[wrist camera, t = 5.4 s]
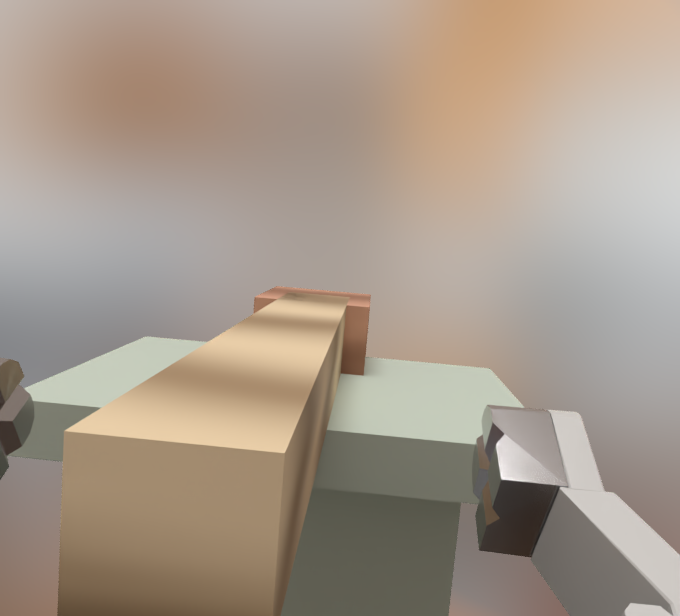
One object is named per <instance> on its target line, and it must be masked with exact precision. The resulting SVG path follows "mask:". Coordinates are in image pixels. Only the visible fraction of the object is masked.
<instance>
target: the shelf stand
mask: <svg viewBox="0 0 680 616" xmlns="http://www.w3.org/2000/svg"><path fill="white" fill-rule="evenodd" d="M206 343H207V342H200V341H189V340H179V339H168V338H156V337H144V338H142V339H140V340H137V341H134V342H132V343H130V344H127V345H125V346H123V347H120V348H118V349H116V350H113V351H111V352H109V353H106V354H104V355H102V356H99V357H97V358H95V359H92V360H90V361H88V362H85V363H83V364H81V365H78V366H76V367H74V368H71V369H69V370H66V371H64V372H62V373H59V374H57V375H55V376H52V377H50V378H48V379H46V380H43V381H41V382H38V383H36V384H34V385H31V386H29V387H26V388H24V389H25V390H26V391H27V392H28V393H29V394H30V395H31V397H32V400H33V403H34V416H35V418H34V421H33V425H32V428H31V432H30V434H29V436H28V438H27V439H26V441H25V443H24V444H23V446H22V447H20V448H19V449H17V450H15V451H14V452H12V453H11V454H9V455H7V456H12V457H22V458H32V459H42V460H51V461H61V462H63V444H64V431H65V430H66V429H68V428H70V427H71V426H73V425H74V424H76V423H78V422H79V421H81V420H83V419H84V418H86V417H87V416H89V415H91V414H92V413H94V412H96V411H97V410H99V409H100V408H102V407H104V406H105V405H107V404H108V403H110V402H112V401H113V400H115V399H117V398H118V397H120V396H121V395H123V394H125V393H126V392H128V391H130V390H131V389H133V388H134V387H136V386H138V385H139V384H141V383H142V382H144V381H146V380H147V379H149V378H151V377H152V376H154V375H155V374H157V373H159V372H160V371H162V370H164V369H165V368H167V367H168V366H170V365H172V364H173V363H175V362H176V361H178V360H180V359H181V358H183V357H185V356H186V355H188V354H189V353H191V352H193V351H194V350H196V349H198V348H199V347H201V346H202V345H204V344H206ZM487 405H497V406H509V407H520V408H524V406H523V405H522V404H521V403H520V402H519V401H518V400H517V398H515V396H514V395H513V394H512V393H511V392H510V391H509V390H508V388H507V387H506V386H505V385H504V384H503V383H502V382H501V381H500V380H499V378H498V377H497V376H496V375H495V374H494V373H493V372H492V371H491V369H490V368H479V367H468V366H458V365H447V364H436V363H424V362H415V361H404V360H393V359H382V358H372V357H365V366H364V376H362V375H352V374H340V379H339V383H338V387H337V391H336V395H335V399H334V403H333V407H332V411H331V415H330V419H329V423H328V427H327V431H326V435H325V439H324V443H323V447H322V451H321V455H320V459H319V463H318V467H317V471H316V475H315V479H314V483H313V487H312V491H311V495H310V499H309V503H308V507H307V511H306V515H305V519H304V523H303V527H302V531H301V535H300V539H299V543H298V547H297V551H296V555H295V559H294V563H293V568H292V572H291V576H290V580H289V584H288V588H287V592H286V596H285V600H284V604H283V608H282V612H281V616H448V613H449V605H450V596H451V587H452V578H453V569H454V559H455V551H456V542H457V533H458V524H459V515H460V506H461V503H469V504H479V501H480V500H479V499H478V498H477V497H476V495H475V494H474V493H473V484H472V462H473V453H474V448H475V443H476V439H477V438H478V437H480V436H481V435H482V434H483V431H482V423H481V420H482V416H483V412H484V409H485V408H486V406H487Z"/></svg>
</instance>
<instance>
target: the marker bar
mask: <svg viewBox="0 0 680 616" xmlns="http://www.w3.org/2000/svg"><path fill="white" fill-rule="evenodd" d="M370 296H371V295H369V294H358V293H346V292H335V291H324V290H312V289H302V288H290V287H279V286H277V287H275V288H272V289H270V290H268V291H266V292H264V293H262V294H260V295H258V296H256V297H255V300H254V314H253V315H251V316H249V317H248V318H246V319H244V320H243V321H241V322H240V323H238V324H237V325H235V326H233V327H232V328H230V329H228V330H227V331H225V332H224V333H222V334H221V335H219V336H217V337H215V338H214V339H212V340H210V341H209V342H207V343H206V344H204V345H202V346H201V347H199V348H198V349H196V350H194V351H193V352H191V353H189V354H188V355H186V356H185V357H183V358H181V359H180V360H178V361H176V362H175V363H173V364H172V365H170V366H168V367H167V368H165V369H164V370H162V371H160V372H159V373H157V374H155V375H154V376H152V377H151V378H149V379H147V380H146V381H144V382H142V383H141V384H139V385H138V386H136V387H134V388H133V389H131V390H130V391H128V392H126V393H125V394H123V395H121V396H120V397H118V398H117V399H115V400H113V401H112V402H110V403H108V404H107V405H105V406H104V407H102V408H100V409H99V410H97V411H96V412H94V413H92V414H91V415H89V416H87V417H86V418H84V419H83V420H81V421H79V422H78V423H76V424H74V425H73V426H71V427H70V428H68V429H66V430H65V431H64V444H63V473H62V502H61V530H60V558H59V560H60V561H59V588H58V616H281V612H282V608H283V604H284V600H285V596H286V592H287V588H288V584H289V580H290V576H291V572H292V568H293V563H294V559H295V555H296V551H297V547H298V543H299V539H300V535H301V531H302V527H303V523H304V519H305V515H306V511H307V507H308V503H309V499H310V495H311V491H312V487H313V483H314V479H315V475H316V471H317V467H318V463H319V459H320V455H321V451H322V447H323V443H324V439H325V435H326V431H327V427H328V423H329V419H330V415H331V411H332V407H333V403H334V399H335V395H336V391H337V387H338V383H339V379H340V374H352V375H362V376H364V366H365V355H366V343H367V333H368V321H369V311H370Z"/></svg>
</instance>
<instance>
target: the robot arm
mask: <svg viewBox="0 0 680 616" xmlns="http://www.w3.org/2000/svg"><path fill="white" fill-rule="evenodd" d="M23 377H24V374H23V372H22V369H21V367H20V365H19V362H17V361H14V360H11V359H5V358H0V479H1V478H2V476H3V475H4V474H5V472H6V470H7V469H8V467H9V464H8V459H7V455H9V454H11V453H12V452H14V451H15V450H17V449H19V448H20V447H22V446H23V444H24V443H25V441H26V439H27V438H28V436H29V434H30V432H31V428H32V425H33V421H34V418H35V416H34V403H33V400H32V397H31V395H30V394H29V393H28V392H27V391H26V390H25V389H24V388H22V387H21V386H20V385H19V384H20V382H21V381H22V379H23ZM481 423H482V431H483V434H482V435H481V436H480V437H478V438H477V439H476V443H475V448H474V453H473V462H472V484H473V493H474V494H475V495H476V497H477V498H478V499H479V500H480V501H479V504H478V508H477V511H476V524H477V534H478V543H479V550H480V551H488V552H496V553H503V554H511V555H518V556H525V557H531V561H532V562H533V564H534V565H535V567H536V568H537V570H538V571H539V572H540V574H541V575H542V577H543V578H544V580H545V581H546V582H547V584H548V585H549V587H550V588H551V590H552V591H553V592H554V594H555V595H556V596H557V598H558V600H559V601H560V602H561V604H562V605H563V607H564V608H565V609H566V611H567V612H568V614H569V615H570V616H680V555H679V554H678V553H677V552H676V551H675V550H674V549H673V548H672V547H671V546H670V545H668V543H667V542H665V541H664V540H663V539H662V538H661V537H660V536H659V535H658V534H657V533H656V532H655V531H654V530H653V529H652V528H651V527H650V526H649V525H647V523H646V522H644V521H643V520H642V519H641V518H640V517H639V516H638V515H637V514H636V513H635V512H634V511H633V510H632V509H631V508H630V507H629V506H628V505H626V503H624V502H623V501H622V500H621V499H620V498H619V497H618V496H617V495H616V494H615V493H612V492H605V490H604V487H603V484H602V481H601V478H600V474H599V471H598V468H597V465H596V462H595V458H594V455H593V452H592V449H591V445H590V443H589V439H588V436H587V433H586V430H585V427H584V423H583V420H582V417H581V416H580V415H579V414H578V412H568V411H557V410H543V409H532V408H520V407H509V406H497V405H487V406H486V408H485V409H484V412H483V416H482V420H481Z"/></svg>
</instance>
